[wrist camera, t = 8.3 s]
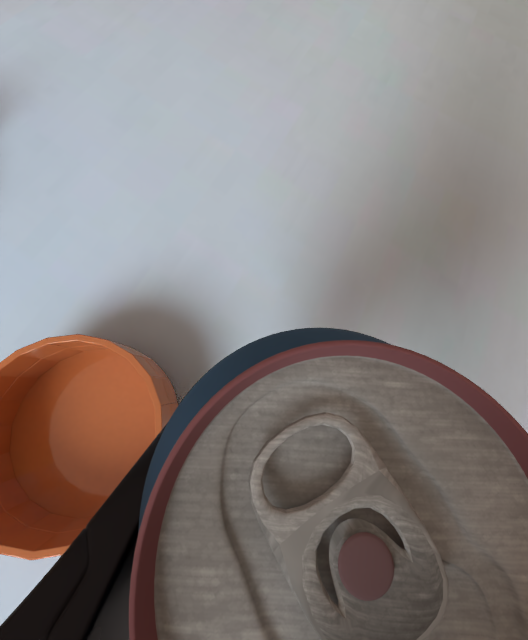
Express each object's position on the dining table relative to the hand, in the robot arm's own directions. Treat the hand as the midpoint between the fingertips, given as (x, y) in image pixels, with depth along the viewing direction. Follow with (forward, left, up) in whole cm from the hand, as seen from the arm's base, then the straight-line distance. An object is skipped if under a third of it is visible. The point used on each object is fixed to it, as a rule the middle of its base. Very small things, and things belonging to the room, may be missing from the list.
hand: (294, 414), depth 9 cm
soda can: (-1, +1, -7) cm, 7 cm away
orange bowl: (+8, +11, -13) cm, 19 cm away
